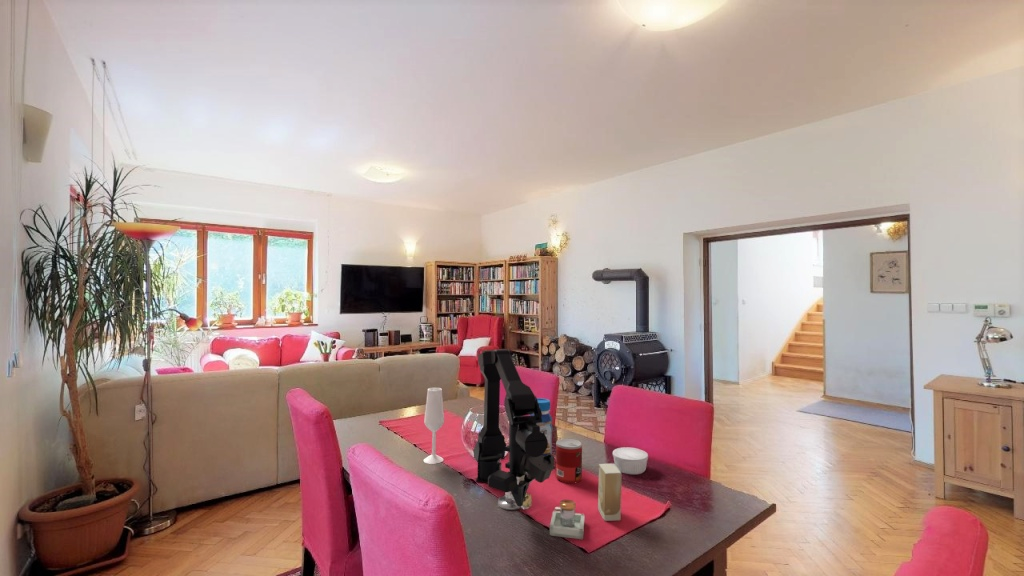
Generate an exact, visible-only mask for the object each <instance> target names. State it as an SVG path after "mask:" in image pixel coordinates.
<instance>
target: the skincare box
mask: <svg viewBox="0 0 1024 576" xmlns="http://www.w3.org/2000/svg"><path fill="white" fill-rule="evenodd" d="M622 474H623V473H622V472H620V471H619V469H618V468H617V467H616V465H615V463H598V489H597V490H598V493H597V494H598V497H597V498H598V499H597V500H598V501H597V509H598V512H599V513H600V515H601V517H602V519H603V521H604V522H607V521H608V522H610V521H611V522H612V521H621V520H622V519H621V518H622V517H621V515H622V514H621V513H622V512H621V511H622V510H621V509H622V477H623V476H622Z"/></svg>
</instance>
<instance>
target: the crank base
mask: <svg viewBox="0 0 1024 576" xmlns="http://www.w3.org/2000/svg"><path fill="white" fill-rule="evenodd" d="M497 505H498V507H499V508H501V510H507V511H517V510H520V509H522V508H521V507H519V506H517V504H516V503H513V504H509V503H506V502H505V495H502V496H499V498H498V499H497Z"/></svg>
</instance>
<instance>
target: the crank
mask: <svg viewBox="0 0 1024 576" xmlns="http://www.w3.org/2000/svg"><path fill="white" fill-rule="evenodd" d="M504 496H505V502H506V503H509V504H513V503H516V502H515V500H514V497H513V495H512V493H511V491H510V492H504ZM530 507H532V494H531V493H526V496H525V499H524V502H523V505H522V506H521V508H520V509H523V510H528V509H529V508H530Z"/></svg>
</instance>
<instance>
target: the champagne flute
mask: <svg viewBox="0 0 1024 576" xmlns="http://www.w3.org/2000/svg"><path fill="white" fill-rule="evenodd" d="M444 411H445V410H444V401H443V390H442V388H441V387H429V388H427V394H426V401H425V410H424V420H423V421H424V425H425V427H426V428H427V430H429V431H431V438H432V439H431V454H430V455H428V456H426V457H425V458H424V459H423V462H424V463H425V464H427V465H429V464H430V465H434V464H441V463H442V462H443V461H444V458H443V457H441V456H440V455H437V454H436V450H437V449H436V448H437V447H436V446H437V445H436V441H437V439H436V438H437V436H436V435H437V433H436V432H437V431H439V430H440V429H441V428H442V426H443V425H444V423H445V412H444Z"/></svg>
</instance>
